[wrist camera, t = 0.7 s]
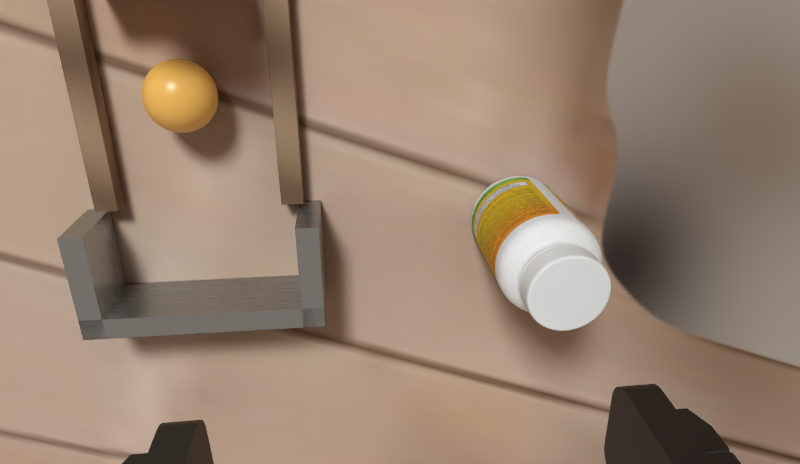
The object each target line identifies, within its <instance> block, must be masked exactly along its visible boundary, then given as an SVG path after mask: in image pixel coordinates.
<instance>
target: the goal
mask: <svg viewBox="0 0 800 464" xmlns="http://www.w3.org/2000/svg"><path fill="white" fill-rule="evenodd" d="M295 234H296V246H297V257H298V269H299V276H279V277H259V278H239V279H218V280H198V281H178V282H158V283H138V284H126V281H125V277H124V272H123V267H122V263H121V258H120V253H119V249H118V244H117V240H116V235H115V230H114V226H113V221H112V217H111V212H95V210H87V211H86V212H85V213H84V214H83V215H82V216H81V217H80V218H79V219H78V220H77V221H76V222H74V223H73V224H72V225H71V226H70V227H69V228H68V229H67V230H66V231H65V232H64V233H63V234H62V235H61V236H60V237H59V238H58V239H57V240H58V244H59V248H60V252H61V256H62V260H63V264H64V267H65V271H66V275H67V279H68V283H69V287H70V290H71V294H72V298H73V302H74V306H75V310H76V313H77V317H78V321H79V325H80V329H81V333H82V337H83V340H93V339H111V338H129V337H146V336H164V335H181V334H199V333H217V332H234V331H252V330H269V329H287V328H305V327H322V326H325V317H326V292H327V291H326V276H325V260H324V245H323V230H322V214H321V201H304V203H303V204H299V209H298V214H297V220H296V226H295Z"/></svg>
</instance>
